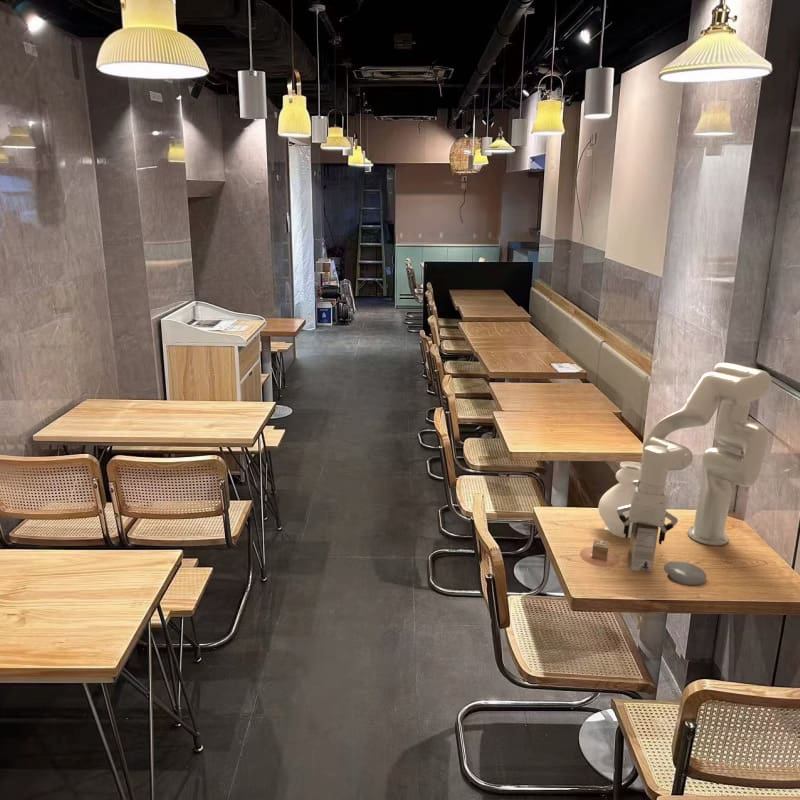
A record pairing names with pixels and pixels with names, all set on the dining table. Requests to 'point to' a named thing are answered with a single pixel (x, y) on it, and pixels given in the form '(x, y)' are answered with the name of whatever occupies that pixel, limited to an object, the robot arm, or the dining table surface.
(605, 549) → the letter cube
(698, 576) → the charcoal dish
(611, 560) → the terracotta dish
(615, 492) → the decorative vase
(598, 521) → the dining table surface
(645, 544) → the coffee box
